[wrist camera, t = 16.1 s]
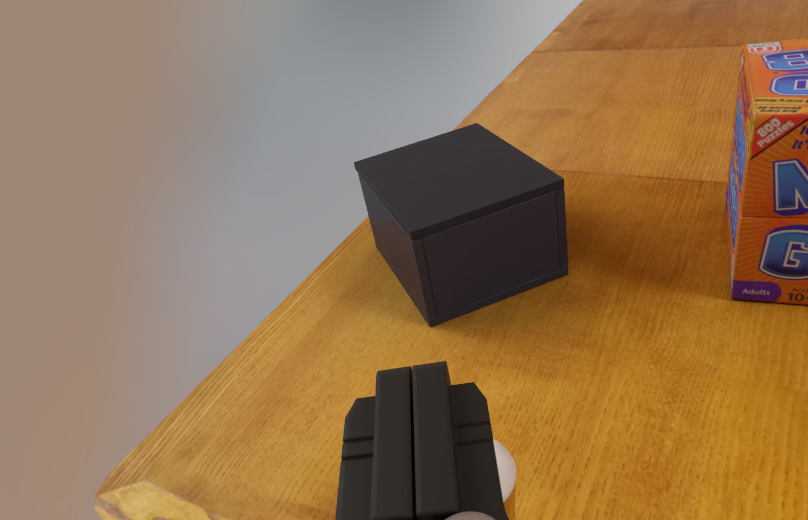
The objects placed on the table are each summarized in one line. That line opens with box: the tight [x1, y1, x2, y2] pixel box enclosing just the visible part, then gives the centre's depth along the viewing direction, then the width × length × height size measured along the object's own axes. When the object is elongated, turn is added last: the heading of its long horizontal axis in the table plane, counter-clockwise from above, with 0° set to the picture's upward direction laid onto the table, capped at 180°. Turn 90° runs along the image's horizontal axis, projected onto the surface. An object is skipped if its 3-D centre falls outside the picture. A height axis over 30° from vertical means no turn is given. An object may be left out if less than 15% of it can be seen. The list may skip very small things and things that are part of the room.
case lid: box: [354, 123, 564, 241], centre depth 55 cm, size 16×14×1 cm
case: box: [358, 173, 568, 327], centre depth 58 cm, size 16×14×9 cm
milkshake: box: [493, 439, 516, 520], centre depth 31 cm, size 5×5×10 cm
